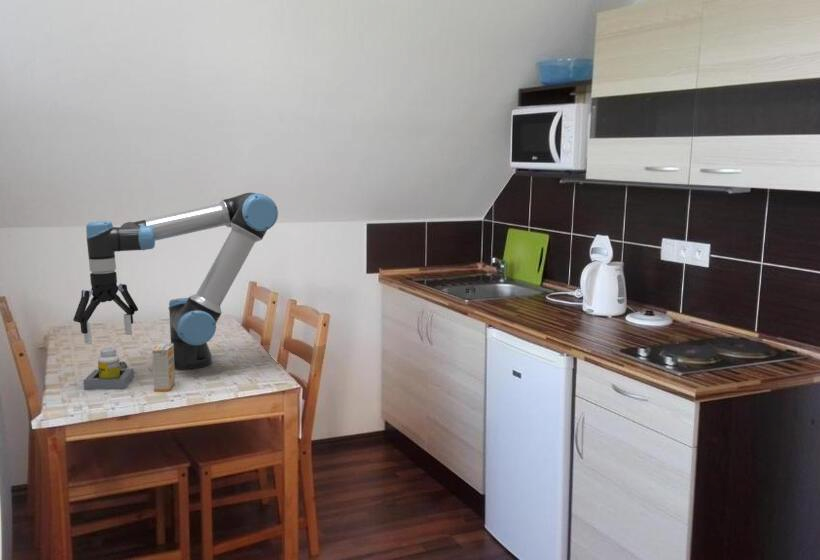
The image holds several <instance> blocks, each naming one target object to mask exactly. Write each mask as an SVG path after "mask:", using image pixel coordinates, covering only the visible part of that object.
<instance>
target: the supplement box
mask: <svg viewBox="0 0 820 560" xmlns="http://www.w3.org/2000/svg"><path fill="white" fill-rule="evenodd" d="M151 351H152V368H153V369H152V370H153V389H154V392H169V391H170V390H171V389H172V388H173V386H174V385H175V384H176V371H175V370H176V369H175V366H174V344H171V343H158V344H157V345H156V346H155V347H154V348H153V349H152V350H151Z"/></svg>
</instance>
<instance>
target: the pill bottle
mask: <svg viewBox="0 0 820 560" xmlns="http://www.w3.org/2000/svg"><path fill="white" fill-rule="evenodd" d="M99 354H100V356H98V359H97V364H98V369H99V378H118V377H120V362H121V361H120V357H119V355H117V348H116V347H104V348H101V349H100V350H99Z"/></svg>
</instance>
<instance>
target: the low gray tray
mask: <svg viewBox="0 0 820 560" xmlns="http://www.w3.org/2000/svg"><path fill="white" fill-rule="evenodd" d="M119 362H120V377H118V378H99V368H97V369H94V370H93V371H92V372H90V374H88V375H87V376H86V377H85V378H84V379H83V390H85V391H86V390H87V391H88V390H91V391H92V390H117V389H118V390H119V389H120V390H121V389H123V390H124V389H126V388H127V387H128V386H129V384H131V382H132V380H133V379H134V378H135V369H134V368H130V367H129V368H128V365H127V362H125V361H119Z"/></svg>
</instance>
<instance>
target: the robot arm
mask: <svg viewBox="0 0 820 560" xmlns="http://www.w3.org/2000/svg"><path fill="white" fill-rule="evenodd" d="M278 217H279V211H278V207H277V204H276V203H275V201H274V200H273V199H272V198H270V197H269V196H268V195H265V194H264V193H257V192H246V193H242V194H239V195H235V196H233V197H229V198H225V199H222V200H220V202H219V203H217V204H211V205H207V206H202V207H198V208H194V209H188V210H185V211H179V212H174V213H171V214H166V215H162V216H156V217H152V218H147V219H143V220H137V221H127V222H124V223H123V224H121V225H120V227H119V226H114V225H113V222H112V221H110V220H99V221H97V220H96V221H89V222H88V223H86V230H85V231H86V242H87V243H86V245H87V255H88V264H89V266H88V267H89V272H91V273H89V278H90V286H91V289H90V290H89V289H88V290H85V289H82V290H81V296H80V300H79V303H78V305H77V309H76V312H75V314H74V316H73V322H74V323H79V324H80V333H81V334H83V339H84V344H86V345H87V344H88V345H92V344H93V343H92V341H93V340H92V332H91V330H92V329H91V323H90V322H88V321H89V320H90V318H91V317H92V315H93V313H94V312H95V310H97V307H98V306H99V305H100V304H101V303H106V302H114V303H115V304H116V305H117V306H118V307H120V309H122V310H123V311H124V312H125V313H123V321H124V323H123V324H124V334H125V335H127V336H132V335H133V331H132V330H133V329H132V325H133V324H134V315H135V312H138V311H139V308H138V306H137V304H136V303H135V301H134V299H133V298H132V296H131V294H130V292H129V291H128V286H127V284H124V283H120V284H119V285H118V284H117V283H118V277H117V272H116V271H117V265H116V264H117V263H116V253H117V252H128V251H129V252H130V251H132V252H133V251H147V250H153V249H154V248H155V247H156V241H161V240H165V239H169V238H174V237H179V236H183V235H187V234H192V233H196V232H201V231H205V230H211V229H214V228H219V227H223V226H225V227H227V228H231V230H230V231H229V233H228V236H227V238H226V239H225V241H224V243H223V244H222V246H221V248H220V251H219V253H218V254H217V256H216V257H215V259H214V261H213V263H212V265H211V266H210V268H209V269H208V270H209V271H208V272H207V273H206V275H205V277H204V279H203V281H202V283H201V285H200V287H199V288H198V290H197V291H196V293H195V294H192V295H190V296H189V297H182V298H181V297H180V298H173V299H170V300H169V303H168V311H169V330H170V331H169V333H170V344H174V366H175V370H188V369H189V370H190V369H191V370H193V369H199V368H203V367H208V366H209V365H211V364H212V362H213V358H212V357H213V356H212V353H211V350H210V348H209V345H208V342H209V341H211V339H212V338H214V335H215V333H216V329H217V322H218V320H219V319H220V317H221V316H222V313H223V312H222V309H221V305H222V303H223V302H224V299H225V298H226V296H227V295H228V293H229V291H230V289H231V287H232V286H233V283H234V281H235V280H236V279H237V278H236V277H237V276H238V274H239V273H240V271H241V269H242V267H243V265H244V263H245V262H246V260H247V258H248V256H249V254H250V252H251V250H252V249H253V247H254V245H255V243H257V242H260V241H263V239H264V236H266V233H267V231H268V230H270V229H271V228H272V227H274V225H275V224H276V222H277V221H278ZM115 252H116V253H115ZM118 291H119V292H120V294H121V296H122V297H123V299H124V301H125V302H124V301H123V300H122V299H121V297H120V296H119V295H118V294H117V293H118ZM91 296H92V298H91V300H90V297H91ZM89 301H90V303H89ZM88 303H89V304H88Z"/></svg>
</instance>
